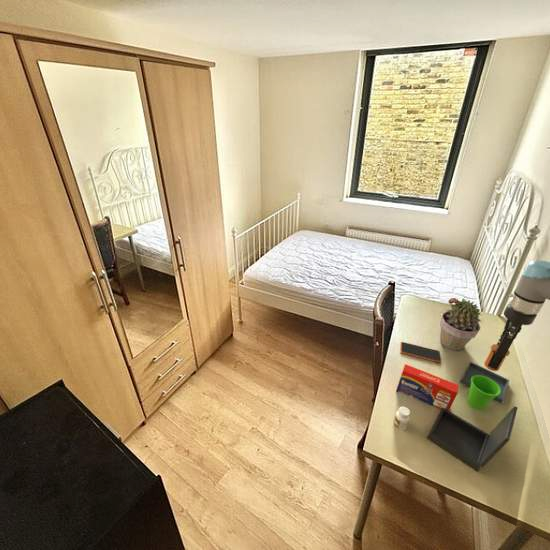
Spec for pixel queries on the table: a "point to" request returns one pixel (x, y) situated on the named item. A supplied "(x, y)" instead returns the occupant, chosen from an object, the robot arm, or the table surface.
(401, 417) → the pill bottle
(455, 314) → the potted plant
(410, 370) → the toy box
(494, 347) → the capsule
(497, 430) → the lid
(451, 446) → the dark grey box base
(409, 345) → the smartphone
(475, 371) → the tray
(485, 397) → the cup
